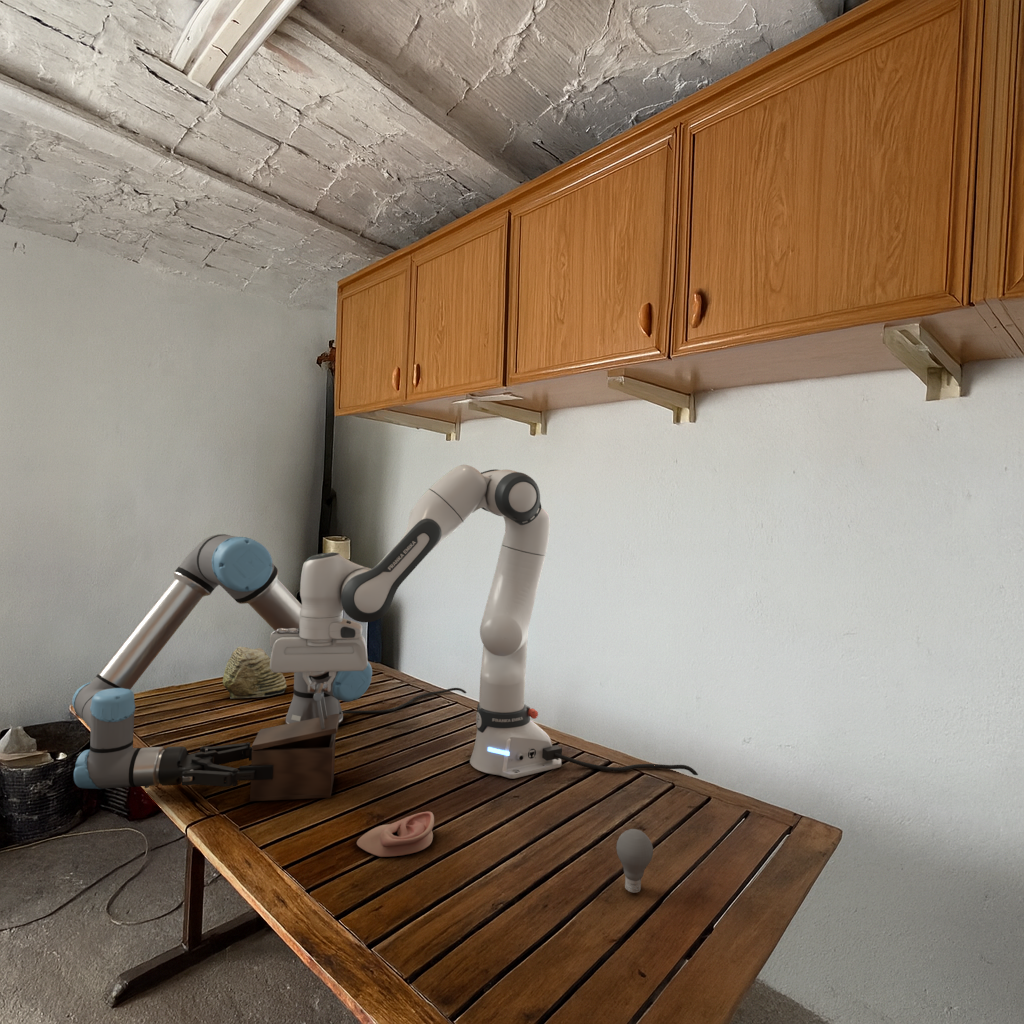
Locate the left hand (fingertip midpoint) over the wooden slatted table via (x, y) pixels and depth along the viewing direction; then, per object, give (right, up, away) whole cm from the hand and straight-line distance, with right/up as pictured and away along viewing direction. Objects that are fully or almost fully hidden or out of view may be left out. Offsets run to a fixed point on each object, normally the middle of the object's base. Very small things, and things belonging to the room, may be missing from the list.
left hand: (276, 762), depth 136 cm
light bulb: (+71, -10, -30) cm, 77 cm away
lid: (+4, +6, +1) cm, 7 cm away
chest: (+3, -6, +1) cm, 7 cm away
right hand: (+9, +15, +1) cm, 17 cm away
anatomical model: (+29, -8, -18) cm, 35 cm away
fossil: (-30, -4, +62) cm, 69 cm away
